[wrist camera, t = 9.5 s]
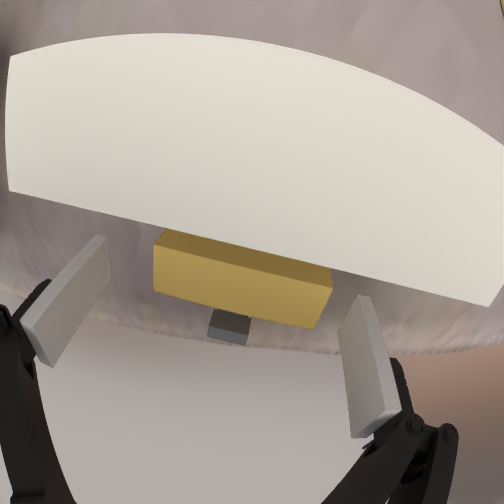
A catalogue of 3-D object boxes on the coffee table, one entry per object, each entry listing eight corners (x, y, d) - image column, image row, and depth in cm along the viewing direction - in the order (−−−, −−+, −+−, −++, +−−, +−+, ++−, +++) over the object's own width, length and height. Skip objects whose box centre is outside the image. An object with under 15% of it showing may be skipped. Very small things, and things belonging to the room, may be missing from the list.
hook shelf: (143, 243, 24) (58, 358, 13) (161, 63, 16) (10, 56, 5) (344, 292, 24) (367, 433, 13) (412, 124, 16) (549, 186, 5)
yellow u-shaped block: (189, 232, 21) (153, 290, 15) (194, 194, 19) (153, 244, 13) (308, 261, 21) (313, 329, 15) (321, 225, 20) (333, 288, 14)
